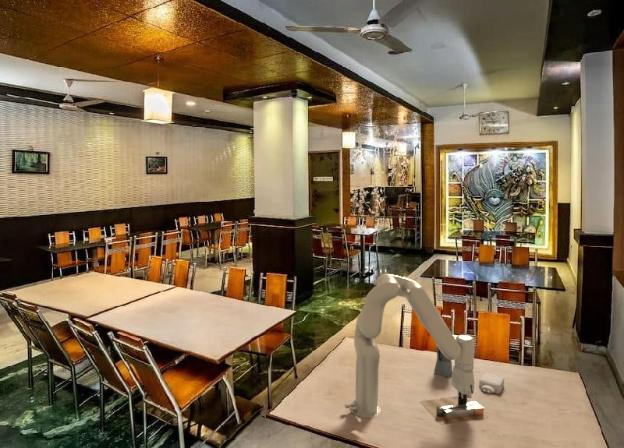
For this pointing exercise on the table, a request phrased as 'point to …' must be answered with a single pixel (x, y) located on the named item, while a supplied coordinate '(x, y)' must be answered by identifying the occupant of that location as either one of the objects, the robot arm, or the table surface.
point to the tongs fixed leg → (464, 412)
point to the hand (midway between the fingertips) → (462, 405)
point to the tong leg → (453, 407)
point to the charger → (491, 383)
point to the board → (433, 404)
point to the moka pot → (443, 365)
